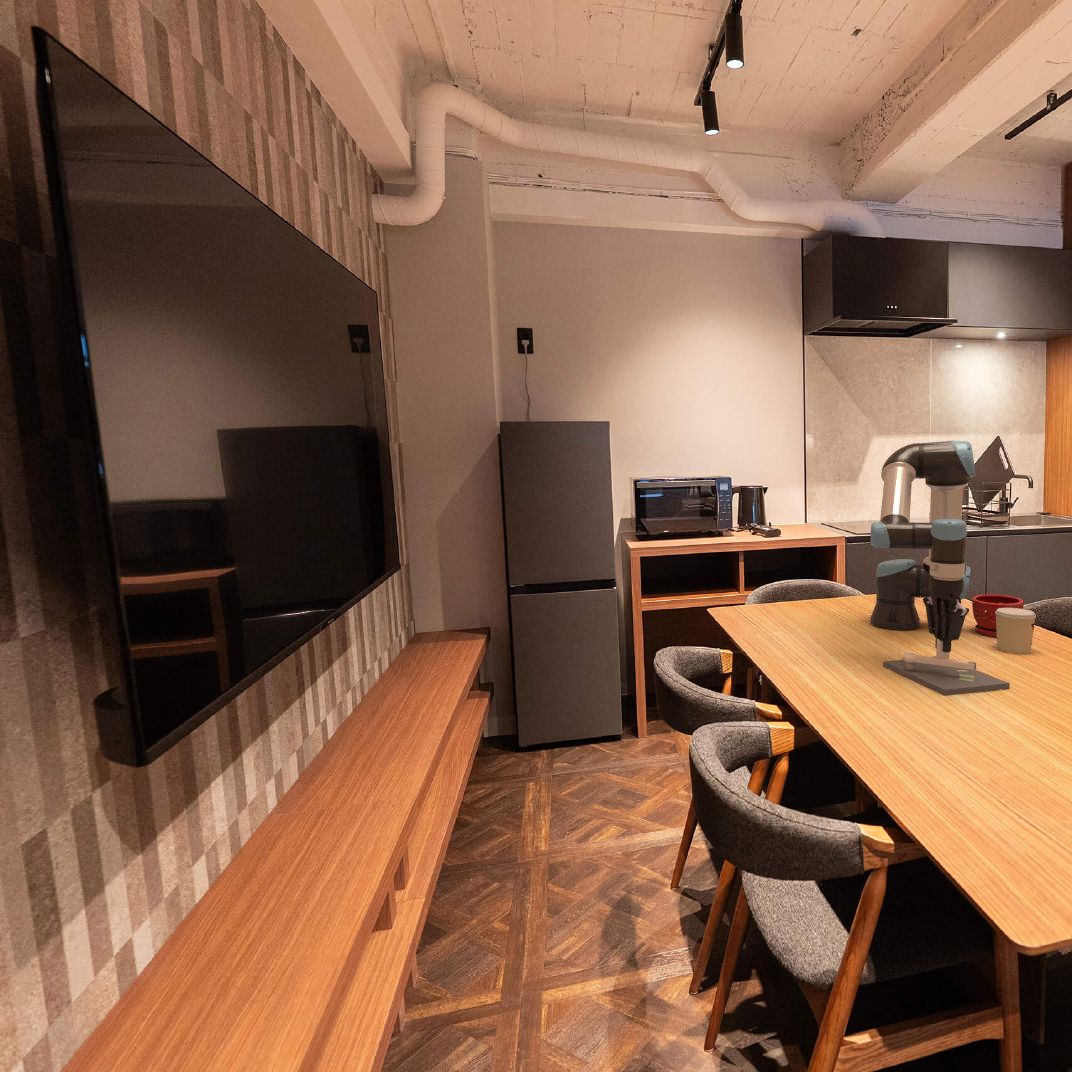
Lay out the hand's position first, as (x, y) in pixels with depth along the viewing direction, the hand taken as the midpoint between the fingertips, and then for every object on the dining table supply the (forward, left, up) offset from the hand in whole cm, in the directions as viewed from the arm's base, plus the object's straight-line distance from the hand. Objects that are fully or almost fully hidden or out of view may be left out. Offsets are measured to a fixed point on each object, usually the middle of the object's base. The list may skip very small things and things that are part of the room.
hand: (942, 662), depth 155 cm
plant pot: (-29, +45, -4) cm, 54 cm away
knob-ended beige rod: (+1, -2, 0) cm, 3 cm away
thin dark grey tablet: (0, 0, -4) cm, 4 cm away
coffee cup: (-14, +36, -4) cm, 39 cm away
